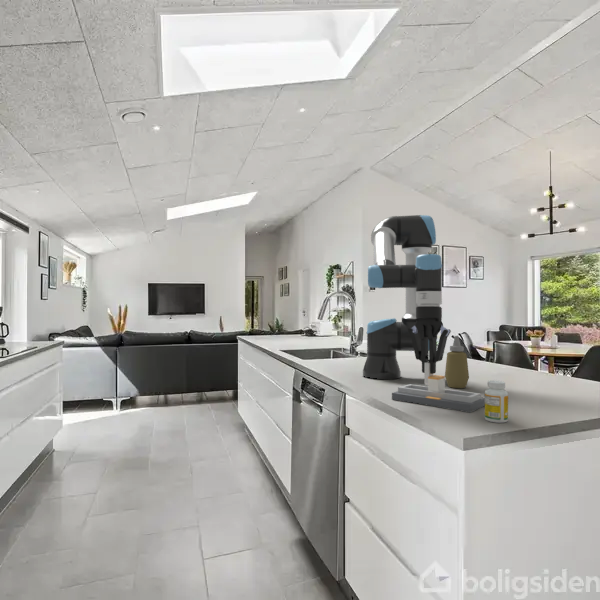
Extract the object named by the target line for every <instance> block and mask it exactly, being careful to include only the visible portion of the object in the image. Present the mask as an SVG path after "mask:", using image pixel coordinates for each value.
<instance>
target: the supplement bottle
mask: <svg viewBox="0 0 600 600" xmlns="http://www.w3.org/2000/svg"><path fill="white" fill-rule="evenodd" d="M487 387H488V388H487V389H485V391H484V398H485V406H484V420H485V421H487V422H491V423H497V424H502V423H506V422H508V420H509V392H508V391H507V390H505V388H506V382H505V381H502V380H501V381H500V380H488V381H487Z"/></svg>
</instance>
